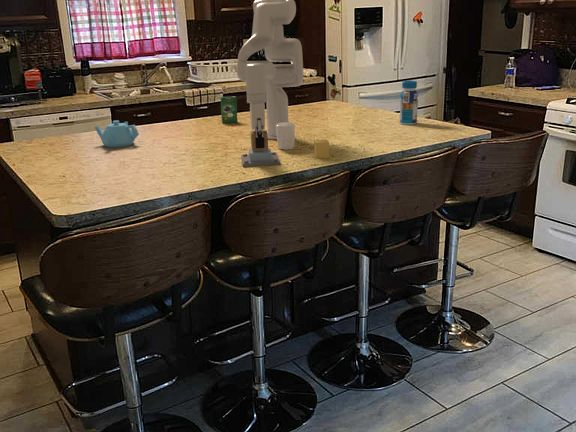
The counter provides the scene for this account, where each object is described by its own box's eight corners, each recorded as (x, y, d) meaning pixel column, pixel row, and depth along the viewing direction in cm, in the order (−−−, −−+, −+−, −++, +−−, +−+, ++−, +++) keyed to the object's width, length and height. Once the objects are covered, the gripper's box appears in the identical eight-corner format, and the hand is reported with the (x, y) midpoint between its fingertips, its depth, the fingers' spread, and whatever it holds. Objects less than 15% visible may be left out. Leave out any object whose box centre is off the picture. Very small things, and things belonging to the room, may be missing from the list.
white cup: (279, 150, 247) (278, 126, 243) (274, 147, 254) (273, 123, 251) (297, 149, 249) (297, 124, 245) (292, 145, 256) (291, 121, 252)
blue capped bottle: (396, 122, 294) (397, 80, 288) (411, 121, 297) (413, 79, 290) (404, 125, 287) (405, 82, 280) (420, 124, 289) (422, 81, 282)
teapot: (107, 150, 259) (103, 125, 255) (96, 144, 271) (92, 120, 267) (141, 145, 267) (138, 120, 263) (129, 139, 279) (126, 116, 275)
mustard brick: (314, 155, 238) (314, 140, 236) (327, 154, 238) (326, 139, 236) (316, 158, 233) (316, 143, 231) (329, 157, 233) (329, 142, 231)
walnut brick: (251, 146, 232) (250, 131, 230) (267, 145, 233) (266, 130, 231) (252, 150, 227) (251, 134, 225) (268, 149, 227) (267, 133, 225)
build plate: (241, 158, 237) (240, 147, 236) (276, 155, 238) (276, 145, 237) (242, 166, 224) (242, 155, 223) (280, 164, 225) (279, 153, 224)
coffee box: (237, 121, 313) (235, 95, 309) (238, 122, 311) (236, 96, 306) (221, 122, 312) (219, 96, 307) (222, 123, 309) (220, 97, 305)
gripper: (245, 95, 231) (248, 141, 237) (248, 101, 215) (250, 151, 221) (265, 94, 232) (267, 140, 238) (269, 100, 216) (271, 150, 222)
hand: (259, 145), depth 229 cm, fingers closed on walnut brick, 5 cm apart
